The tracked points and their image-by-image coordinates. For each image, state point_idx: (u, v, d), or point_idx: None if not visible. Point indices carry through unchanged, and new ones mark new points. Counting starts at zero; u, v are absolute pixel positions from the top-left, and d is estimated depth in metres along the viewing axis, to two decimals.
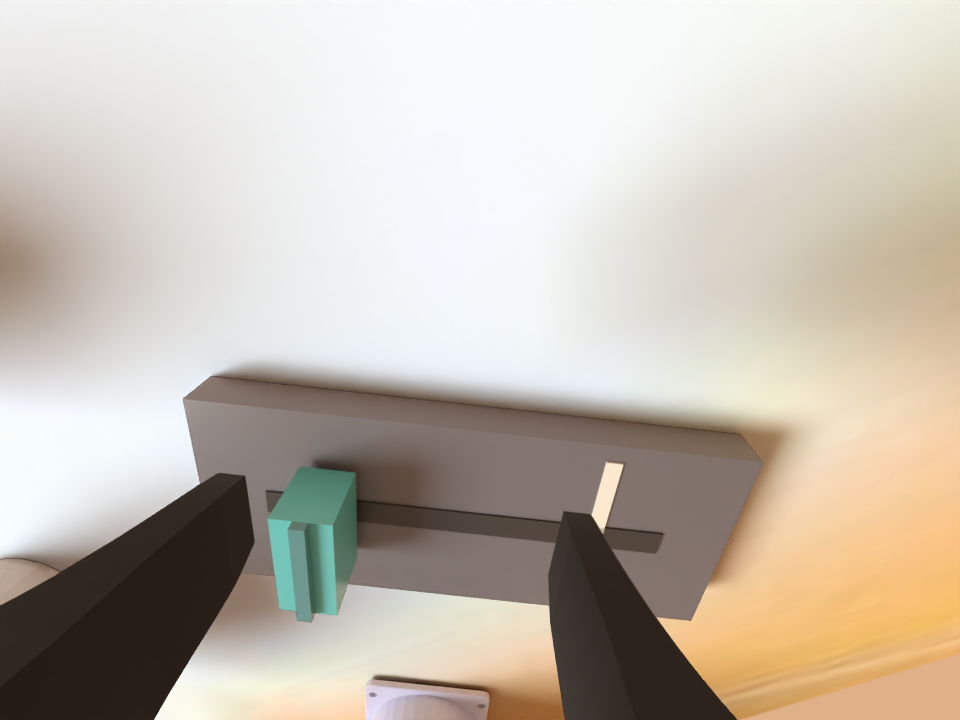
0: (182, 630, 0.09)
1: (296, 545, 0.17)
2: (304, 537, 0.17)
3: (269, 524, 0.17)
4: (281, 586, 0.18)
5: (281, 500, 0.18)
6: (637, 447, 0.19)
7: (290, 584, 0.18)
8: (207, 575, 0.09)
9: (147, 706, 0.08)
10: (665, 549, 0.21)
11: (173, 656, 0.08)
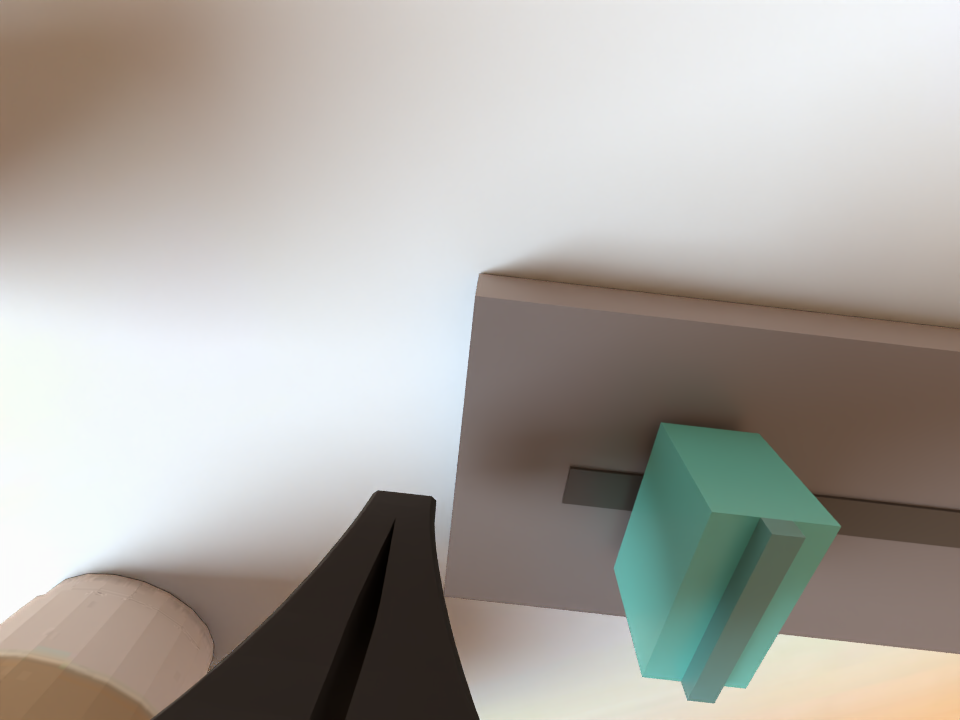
0: None
1: (770, 565, 0.08)
2: (796, 550, 0.08)
3: (709, 523, 0.09)
4: (667, 638, 0.10)
5: (697, 477, 0.09)
6: None
7: (687, 635, 0.10)
8: None
9: None
10: None
11: None
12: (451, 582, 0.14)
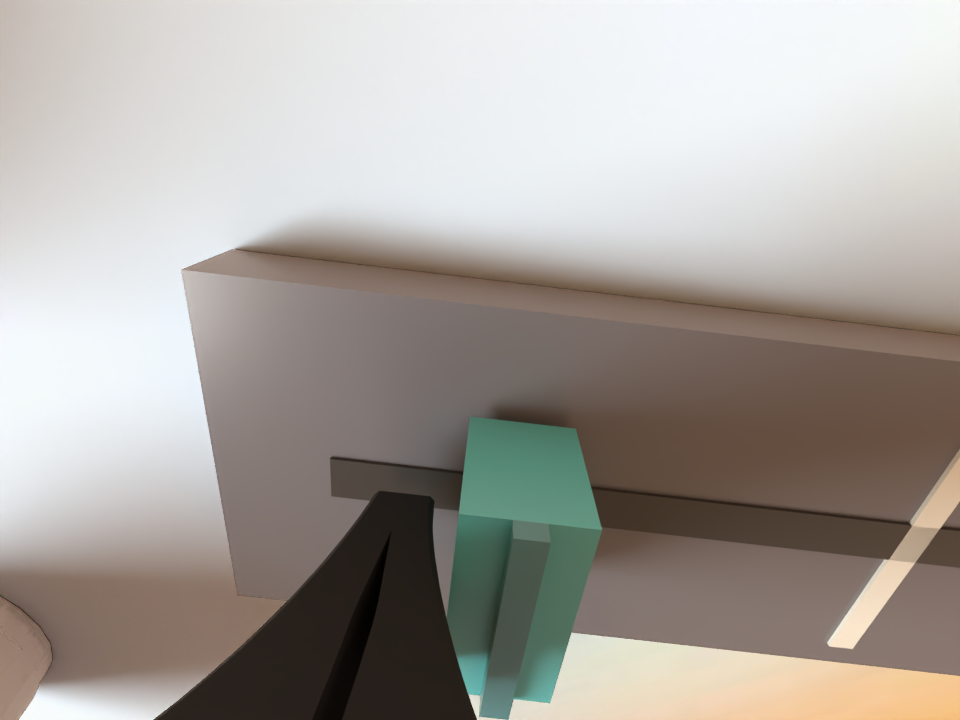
0: None
1: (522, 573, 0.08)
2: (545, 556, 0.07)
3: (460, 526, 0.08)
4: None
5: (468, 476, 0.09)
6: None
7: (472, 647, 0.09)
8: None
9: None
10: None
11: None
12: (241, 580, 0.14)
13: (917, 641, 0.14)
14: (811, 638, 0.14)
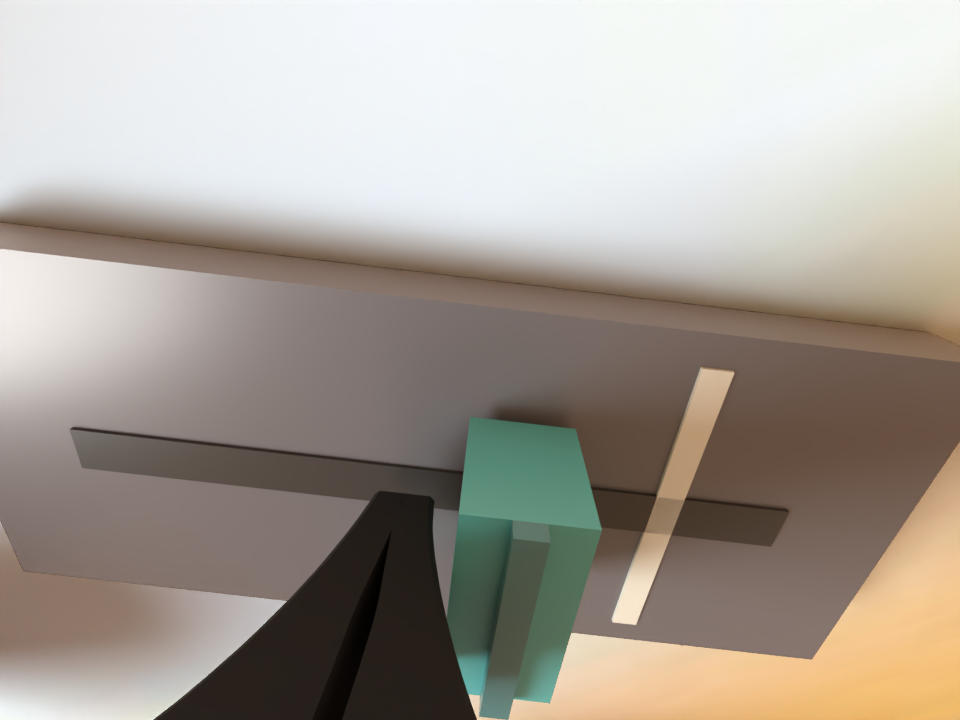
0: None
1: (522, 574, 0.08)
2: (545, 556, 0.07)
3: (460, 526, 0.08)
4: None
5: (468, 476, 0.09)
6: (764, 337, 0.10)
7: (472, 647, 0.09)
8: None
9: None
10: (788, 538, 0.12)
11: None
12: (22, 556, 0.14)
13: (699, 617, 0.13)
14: (595, 614, 0.14)
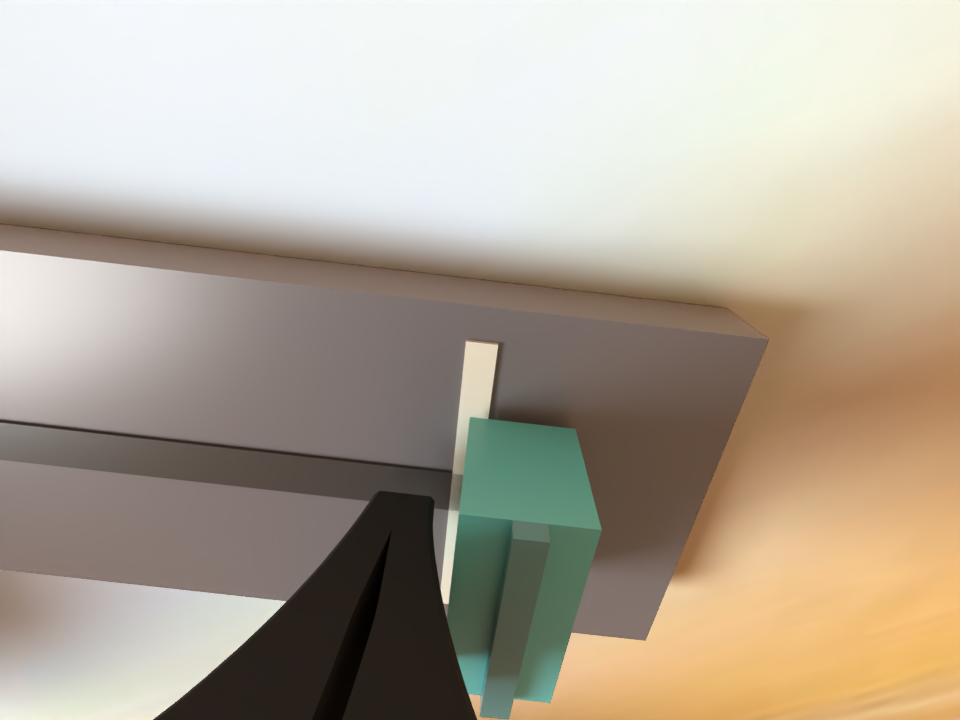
0: None
1: (522, 573, 0.08)
2: (545, 556, 0.08)
3: (460, 526, 0.08)
4: None
5: (468, 476, 0.09)
6: (523, 309, 0.10)
7: (473, 647, 0.09)
8: None
9: None
10: None
11: None
12: None
13: None
14: None
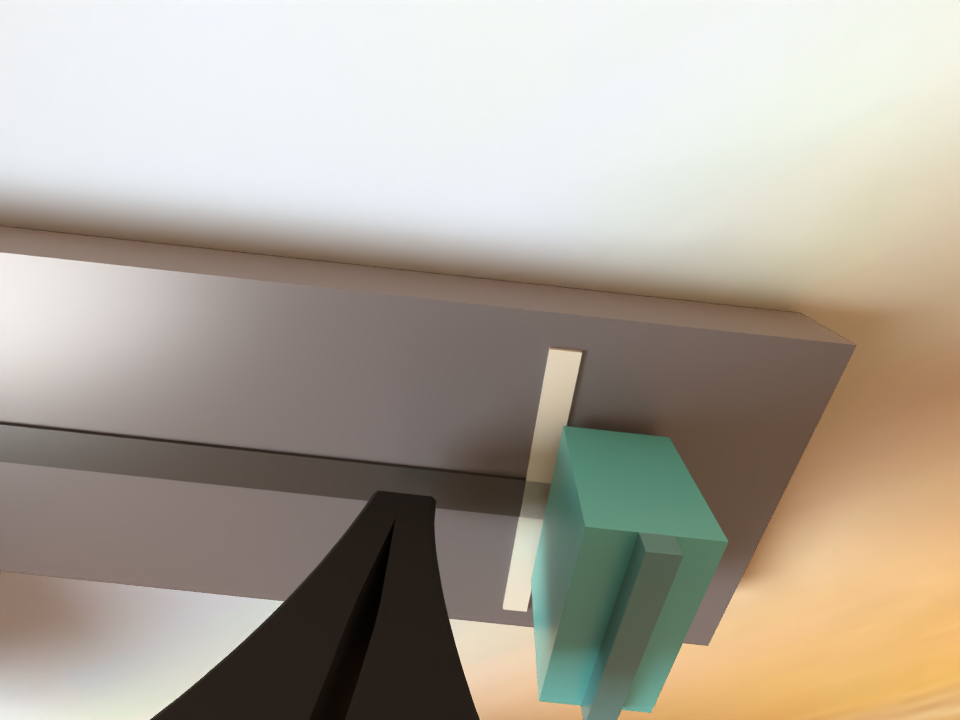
0: None
1: (650, 586, 0.08)
2: (675, 568, 0.07)
3: (585, 539, 0.08)
4: (559, 661, 0.09)
5: (582, 487, 0.09)
6: (609, 316, 0.10)
7: (580, 657, 0.09)
8: None
9: None
10: None
11: None
12: None
13: None
14: (485, 601, 0.14)
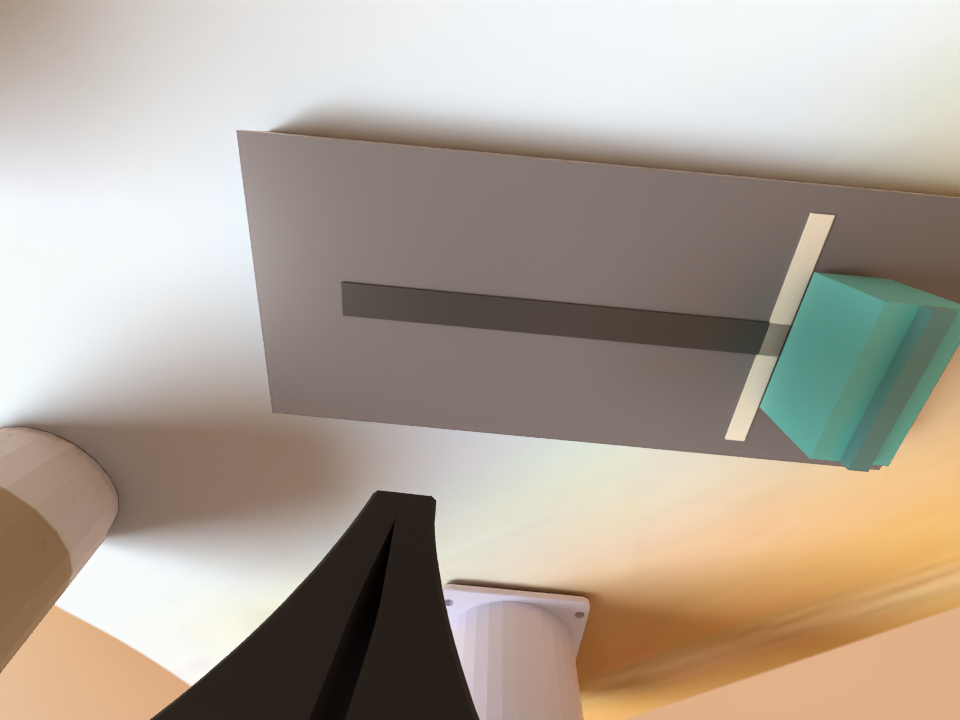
0: None
1: (929, 339, 0.12)
2: (948, 324, 0.12)
3: (883, 312, 0.12)
4: (835, 420, 0.13)
5: (863, 291, 0.13)
6: (856, 188, 0.14)
7: (851, 416, 0.13)
8: None
9: None
10: None
11: None
12: (275, 398, 0.18)
13: None
14: (712, 434, 0.18)
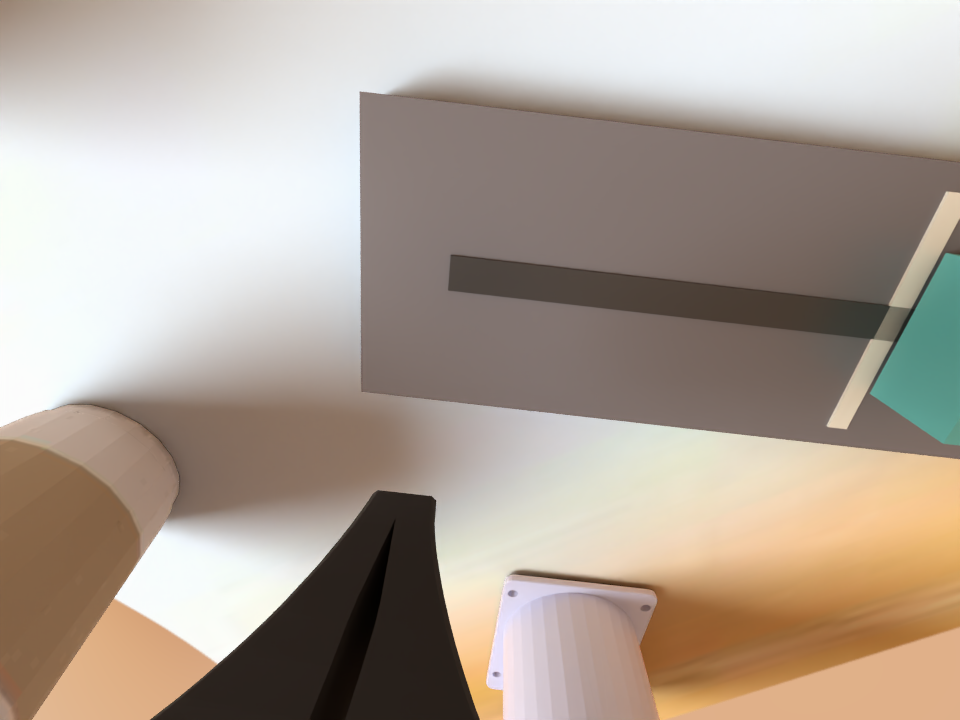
0: None
1: None
2: None
3: None
4: None
5: None
6: None
7: None
8: None
9: None
10: None
11: None
12: (366, 376, 0.17)
13: (897, 421, 0.17)
14: (814, 421, 0.17)
